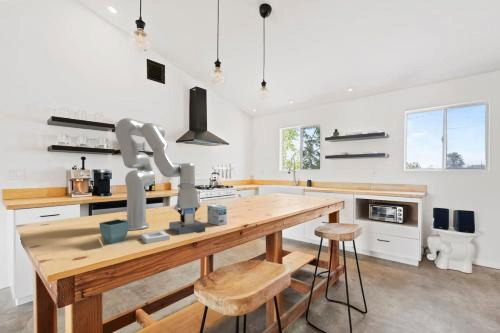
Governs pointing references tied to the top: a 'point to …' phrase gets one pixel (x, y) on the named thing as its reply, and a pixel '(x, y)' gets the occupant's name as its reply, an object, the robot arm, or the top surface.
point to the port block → (187, 227)
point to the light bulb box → (217, 214)
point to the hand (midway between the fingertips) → (187, 220)
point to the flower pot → (114, 230)
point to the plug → (188, 217)
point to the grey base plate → (155, 237)
